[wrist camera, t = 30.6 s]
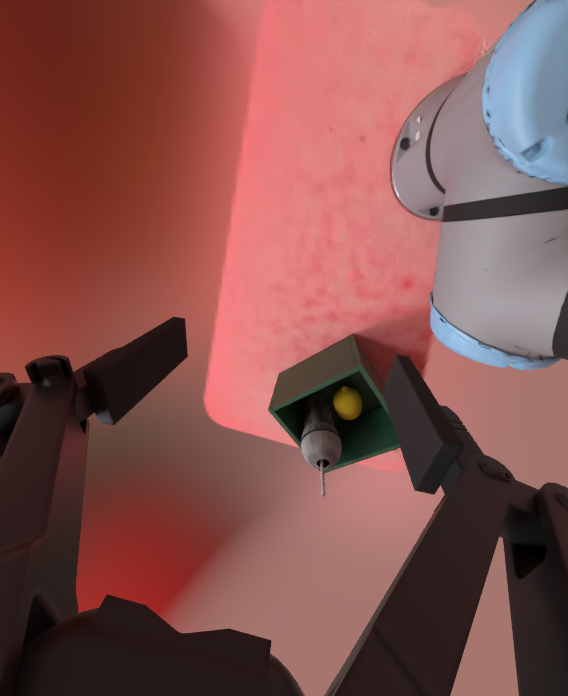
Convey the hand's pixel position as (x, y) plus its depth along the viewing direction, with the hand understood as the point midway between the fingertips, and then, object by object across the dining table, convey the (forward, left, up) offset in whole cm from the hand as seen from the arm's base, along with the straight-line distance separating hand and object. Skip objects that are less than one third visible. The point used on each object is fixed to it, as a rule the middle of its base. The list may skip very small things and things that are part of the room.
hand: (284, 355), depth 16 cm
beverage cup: (+13, +23, -30) cm, 41 cm away
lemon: (+5, +21, -28) cm, 35 cm away
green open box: (+8, +23, -31) cm, 39 cm away
